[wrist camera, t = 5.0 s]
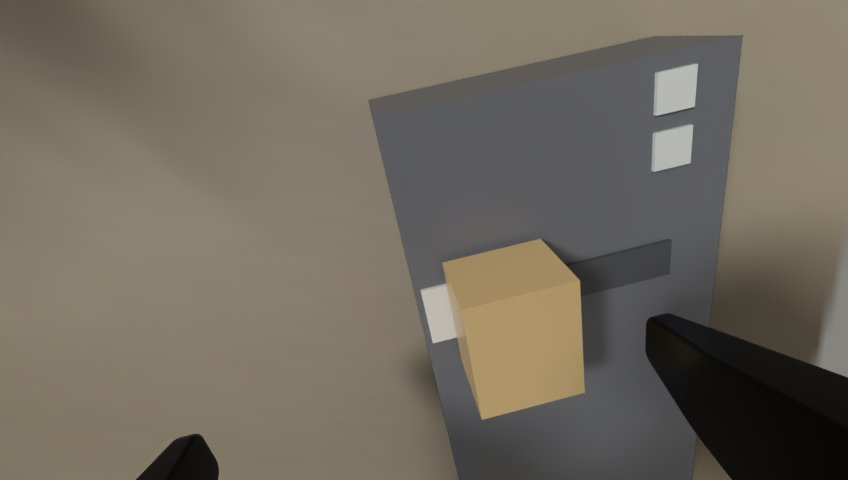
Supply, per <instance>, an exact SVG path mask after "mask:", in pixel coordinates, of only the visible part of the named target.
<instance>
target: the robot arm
mask: <svg viewBox="0 0 848 480" xmlns="http://www.w3.org/2000/svg"><path fill="white" fill-rule="evenodd" d="M645 351H646V355H647V358H648V360H649V362H650V363H651V365H652V367H653V368H654V370H655V371H656V373H657V374H658V376H659V378H660V379H661V381H662V382H663V384H664V385H665V387H666V389H667V390H668V392H669V393H670V395H671V396H672V398H673V400H674V401H675V403H676V404H677V406H678V408H679V409H680V411H681V412H682V414H683V415H684V417H685V418H686V420H687V421H688V423H689V424H690V426H691V427H692V429H693V430H694V431H695V433H696V434H697V435H698V437H699V438H700V439H701V441H702V442H703V443H704V445H705V446H706V447H707V448H708V450H709V451H710V452H711V453H712V455H713V456H714V457H715V459H716V460H717V461H718V462H719V464H720V465H721V466H722V467H723V469H724V470H725V471H726V473H727V474H728V475H729V476H730V478H731V479H732V480H848V378H847V377H845V376H842V375H839V374H837V373H834V372H831V371H828V370H826V369H823V368H820V367H817V366H814V365H812V364H809V363H806V362H803V361H801V360H798V359H795V358H792V357H790V356H787V355H784V354H781V353H779V352H776V351H773V350H770V349H768V348H765V347H762V346H759V345H756V344H754V343H751V342H748V341H745V340H743V339H740V338H737V337H734V336H732V335H729V334H726V333H723V332H721V331H718V330H715V329H712V328H709V327H707V326H704V325H701V324H698V323H696V322H693V321H690V320H687V319H685V318H682V317H679V316H676V315H674V314H670V313H664V314H660V315H656V316H652V317H650V318H648V320H647V322H646V340H645ZM218 475H219V468H218V463H217V461H216V459H215V457H214V455H213V453H212V452H211V450H210V448H209V447H208V445H207V443H206V442H205V440H204V438H203V437H202V436H201V435H199V434H192V435H188V436H184V437H180V438H178V439H176V440H174V441H173V442H172V443H171V444H170V445H169V446H168V447H167V448H166V449H165V450H164V451H163V452H162V453H161V454H160V455H159V456H158V457H157V458H156V460H155V461H154V462H153V463H152V464H151V465H150V466H149V467H148V468H147V469H146V470H145V471H144V472H143V473H142V474H141V475H140V476H139V477H138V478H137V479H136V480H218Z"/></svg>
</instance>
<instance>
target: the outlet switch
mask: <svg viewBox="0 0 848 480" xmlns="http://www.w3.org/2000/svg"><path fill="white" fill-rule="evenodd" d="M442 265H443V270H444V275H445V280H446V285H447V290H448V295H449V300H450V305H451V310H452V315H453V320H454V325H455V330H456V335H457V340H458V345H459V350H460V355H461V360H462V363H463V366H464V369H465V372H466V375H467V378H468V381H469V384H470V387H471V389H472V392H473V395H474V398H475V401H476V404H477V407H478V410H479V413H480V416H481V419H482V420H483V419H487V418H491V417H495V416H499V415H502V414H506V413H510V412H514V411H518V410H521V409H525V408H529V407H533V406H536V405H540V404H544V403H548V402H552V401H555V400H559V399H563V398H567V397H571V396H574V395H578V394H582V393H585V386H584V362H583V339H582V315H581V292H580V280H579V279H578V278H577V277H576V276H575V275H574V274H573V272H572V271H571V270H570V269H569V268H568V267H567V266H566V265H565V264H564V263H563V262H562V261H561V260H560V259H559V258H558V257H557V256H556V254H555V253H554V252H553V251H552V250H551V249H550V248H549V247H548V246H547V245H546V244H545V243H544V242H543V241H542V240H541V239H537V240H533V241H529V242H525V243H521V244H517V245H512V246H508V247H504V248H500V249H496V250H492V251H488V252H484V253H480V254H476V255H471V256H467V257H463V258H459V259H455V260H451V261H447V262H443V263H442Z"/></svg>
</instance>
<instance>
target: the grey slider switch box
mask: <svg viewBox="0 0 848 480" xmlns="http://www.w3.org/2000/svg"><path fill="white" fill-rule="evenodd" d="M742 38H743V35H740V36H654V37H650V38H645V39H641V40H636V41H632V42H628V43H623V44H619V45H614V46H610V47H605V48H601V49H596V50H592V51H587V52H583V53H578V54H574V55H569V56H565V57H560V58H556V59H551V60H547V61H542V62H538V63H533V64H529V65H524V66H520V67H515V68H511V69H506V70H502V71H497V72H493V73H488V74H484V75H479V76H475V77H470V78H466V79H461V80H457V81H452V82H448V83H443V84H439V85H434V86H430V87H425V88H421V89H416V90H412V91H407V92H403V93H399V94H394V95H390V96H385V97H381V98H376V99H372V100H368V101H369V105H370V109H371V113H372V118H373V122H374V126H375V130H376V134H377V138H378V143H379V147H380V151H381V155H382V159H383V163H384V168H385V172H386V176H387V180H388V184H389V188H390V193H391V197H392V201H393V205H394V209H395V213H396V218H397V222H398V226H399V230H400V234H401V239H402V243H403V247H404V251H405V255H406V259H407V264H408V268H409V272H410V276H411V280H412V284H413V289H414V293H415V297H416V301H417V305H418V309H419V314H420V318H421V322H422V326H423V330H424V334H425V339H426V343H427V347H428V351H429V355H430V359H431V364H432V368H433V372H434V376H435V380H436V384H437V389H438V393H439V397H440V401H441V405H442V409H443V414H444V418H445V422H446V426H447V430H448V434H449V439H450V443H451V447H452V451H453V455H454V459H455V464H456V468H457V472H458V476H459V480H692V472H693V464H694V455H695V446H696V438H697V434H696V433H695V431H694V430H693V429H692V427H691V426H690V424H689V423H688V421H687V420H686V418H685V417H684V415H683V414H682V412H681V411H680V409H679V408H678V406H677V404H676V403H675V401H674V400H673V398H672V396H671V395H670V393H669V392H668V390H667V389H666V387H665V385H664V384H663V382H662V381H661V379H660V378H659V376H658V374H657V373H656V371H655V370H654V368H653V367H652V365H651V363H650V362H649V360H648V358H647V355H646V351H645V340H646V322H647V320H648V318H650V317H652V316H656V315H660V314H664V313H670V314H674V315H676V316H679V317H682V318H685V319H687V320H690V321H693V322H696V323H698V324H701V325H704V326H707V327H709V325H710V316H711V307H712V299H713V290H714V281H715V273H716V264H717V255H718V246H719V238H720V229H721V220H722V212H723V203H724V194H725V186H726V177H727V168H728V160H729V151H730V142H731V134H732V125H733V116H734V108H735V99H736V90H737V81H738V73H739V64H740V55H741V47H742ZM537 239H541V240H542V241H543V242H544V243H545V244H546V245H547V246H548V247H549V248H550V249H551V250H552V251H553V252H554V253H555V254H556V256H557V257H558V258H559V259H560V260H561V261H562V262H563V263H564V264H565V265H566V266H567V267H568V268H569V269H570V270H571V271H572V272H573V274H574V275H575V276H576V277H577V278H578V279H579V280H580V292H581V315H582V339H583V362H584V386H585V393H582V394H578V395H574V396H571V397H567V398H563V399H559V400H555V401H552V402H548V403H544V404H540V405H536V406H533V407H529V408H525V409H521V410H518V411H514V412H510V413H506V414H502V415H499V416H495V417H491V418H487V419H483V420H482V419H481V416H480V413H479V410H478V407H477V404H476V401H475V398H474V395H473V392H472V389H471V387H470V384H469V381H468V378H467V375H466V372H465V369H464V366H463V363H462V360H461V355H460V350H459V345H458V340H457V335H456V330H455V325H454V320H453V315H452V310H451V305H450V300H449V295H448V290H447V285H446V280H445V275H444V270H443V265H442V263H443V262H447V261H451V260H455V259H459V258H463V257H467V256H471V255H476V254H480V253H484V252H488V251H492V250H496V249H500V248H504V247H508V246H512V245H517V244H521V243H525V242H529V241H533V240H537Z"/></svg>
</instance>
